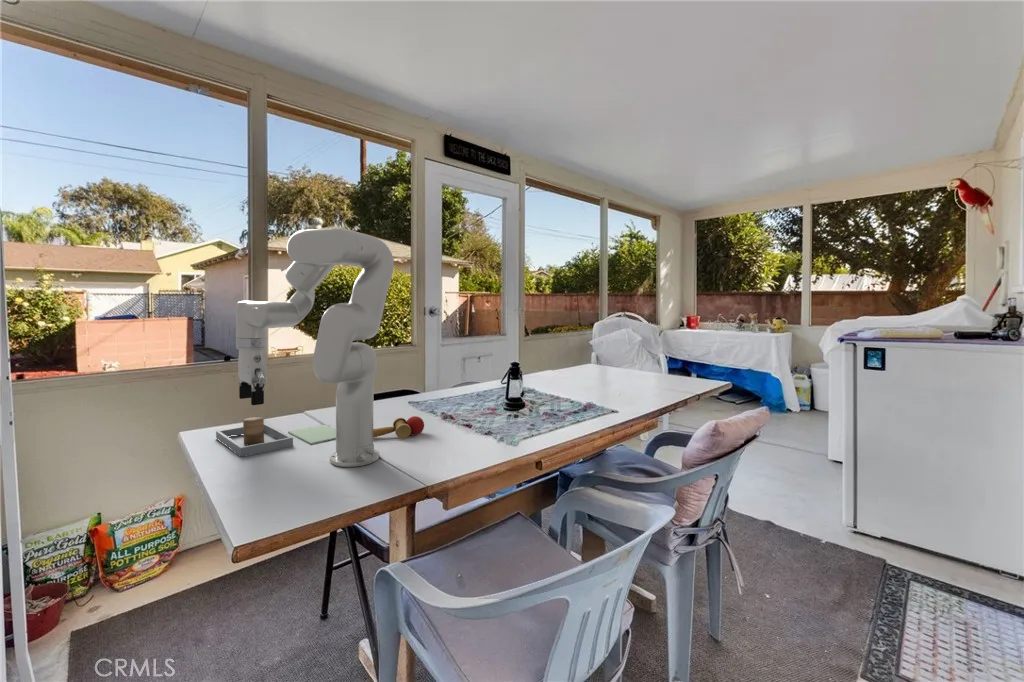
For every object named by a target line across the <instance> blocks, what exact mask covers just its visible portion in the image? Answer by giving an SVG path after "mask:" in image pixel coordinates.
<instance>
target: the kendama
mask: <svg viewBox="0 0 1024 682" xmlns="http://www.w3.org/2000/svg"><path fill="white" fill-rule="evenodd" d="M424 429H425V422H424V420H423V419H422V418H421V417H420V416H416V415H413V416H411V417H409V418H408V419H405V418H404V417H397V418H395V419H394V421H393V423H392V426H385V427H379V428H373V439H375V438H378V437H381V436H385V435H389V434H392V433H394V434H395V435H396V436H397V438H398V439H401V438H403V439H407V438H408V437H410V435H411V436H418V435H420V434H421V433H422V432H423V430H424Z"/></svg>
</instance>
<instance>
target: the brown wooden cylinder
mask: <svg viewBox="0 0 1024 682" xmlns="http://www.w3.org/2000/svg"><path fill="white" fill-rule="evenodd" d="M264 419H265V418H264V417H255V416H254V417H248V418H245V419H243V421H242V422H243V424H242V425H243V426H242V427H243V431H244V435H243V445H244V444H248V445H254V444H259V443H263V442H265V432H264V423H265V422H264V421H265V420H264ZM248 445H247V446H248Z"/></svg>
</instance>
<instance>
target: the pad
mask: <svg viewBox="0 0 1024 682" xmlns="http://www.w3.org/2000/svg"><path fill="white" fill-rule="evenodd" d="M287 433H288V435H290V436H294V437H295V438H297V439H299V440H301V441H303V442H304V443H307V444H309V445H314V444H316V445H317V444H319V443H325V442H328V440H330V441H333V440H332V439H334V440H336V428H334V427H332V426H330V425H327V424H322V425H316V426H310V427H306V428H298V429H294V430H288V432H287ZM324 441H325V442H324Z"/></svg>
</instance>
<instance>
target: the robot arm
mask: <svg viewBox="0 0 1024 682" xmlns="http://www.w3.org/2000/svg"><path fill="white" fill-rule="evenodd" d="M286 253H287V255H288V257H289V258H290V260H291V261H292V263H290V266H289V267H288V268H287V269H286V271H285V279H286V280H287V282H288V283H289V284H290V285H291V287H292V288H294V289H295V290H296V291H295V292H294V293H293V295H292V296H291V297H290V298H289V299H288V300H287V301H259V300H258V301H257V300H241V301H238V302H236V305H235V326H236V327H235V337H236V338H235V348H236V350H238V357H237V358H238V360H237V361H238V363H237V370H238V371H237V373H238V379H239V381H238V385H239V386H238V391H239V392H238V394H239V395H238V396H239V397H238V398H239V399H240V400H242V399H243V400H245V399H250V405H251V406H259V405H264V404H265V383H267V382H268V369H267V368H268V367H267V357H266V356H267V355H266V348H267V329H276V328H280V329H281V328H291V327H295V326H296V325H298V324H299V323H301V322H302V321H303V320H304V318H306V316H307V315H308V314H310V312H311V310H312V309H313V306H314V303H315V299H316V295H315V290H316V289H317V287H318V286H319V285H320V284H321V282H323V280H325V278H326V277H327V275H329V274H330V272H331V271H332V270H333V269H334V268H335V266H337V265H344V266H352V267H359V268H361V269H362V271H361V272H360V273H359V274H358V275H357V278H356V279H355V281H354V284H353V287H352V292H351V296H350V298H349V301H348V302H342V303H341V302H340V303H335V304H333V305H330V306H329V307H328V308H327V309H326V310H325V311H324V313H323V314H322V316H321V319H320V323H319V328H318V333H317V335H316V342H315V347H314V351H313V356H312V370H313V373H314V375H315V377H316V378H317V380H319V381H320V382H322V383H325V384H327V385H328V384H329V385H331V384H332V385H334V384H338V385H337V388H336V391H335V392H336V393H335V429H336V439H335V452H333V453H332V454H330V456H329V462H330V463H331V464H332V465H334V466H337V467H342V468H355V467H361V466H362V467H363V466H367V465H370V464H373V463H374V462H376V461H378V460H379V458H380V451H378V450H377V449H375V444H374V438H373V429H374V396H375V395H374V389H375V388H374V387H375V379H376V373H377V367H378V356H377V353H376V351H375V349H374V348H372V346H370V345H369V344H367V343H364V342H359V341H363V340H368V339H372V338H373V337H375V336H376V335H377V334H378V333H379V330H380V328H381V327H380V326H381V323H382V319H383V313H384V310H385V305H386V301H387V295H388V290H389V287H390V283H391V280H392V278H393V273H394V267H395V266H394V265H395V263H394V261H395V260H394V256H393V253H392V251H391V250H390V248H389V246H388V245H387V244H386V243H385V242H384V241H382V240H381V239H379V238H378V237H376V236H373V235H369V234H368V233H362V232H357V231H354V230H348V229H345V228H337V227H335V228H332V227H331V228H318V229H315V228H314V229H313V228H312V229H301V230H297V231H296V232H295V233H293V234H292V235H291V236H290V238H289V239H288V241H287V245H286ZM355 341H358V342H355Z"/></svg>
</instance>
